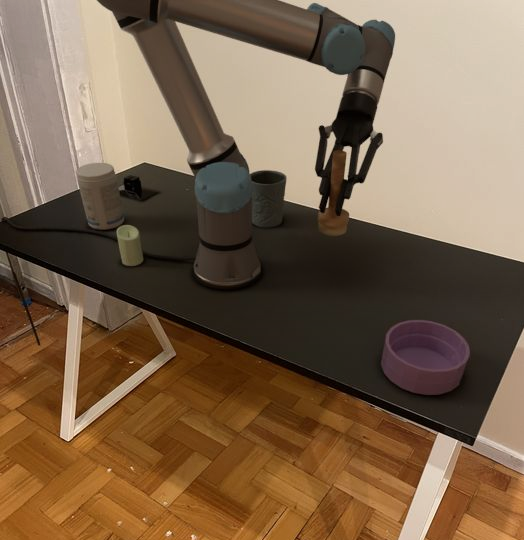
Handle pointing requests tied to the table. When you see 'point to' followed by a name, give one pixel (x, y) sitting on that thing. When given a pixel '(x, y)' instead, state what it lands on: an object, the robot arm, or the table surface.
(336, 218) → the dish brush
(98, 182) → the supplement tub
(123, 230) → the candle
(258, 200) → the grey green cup
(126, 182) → the black stepped block
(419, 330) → the lilac bowl
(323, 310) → the table surface
